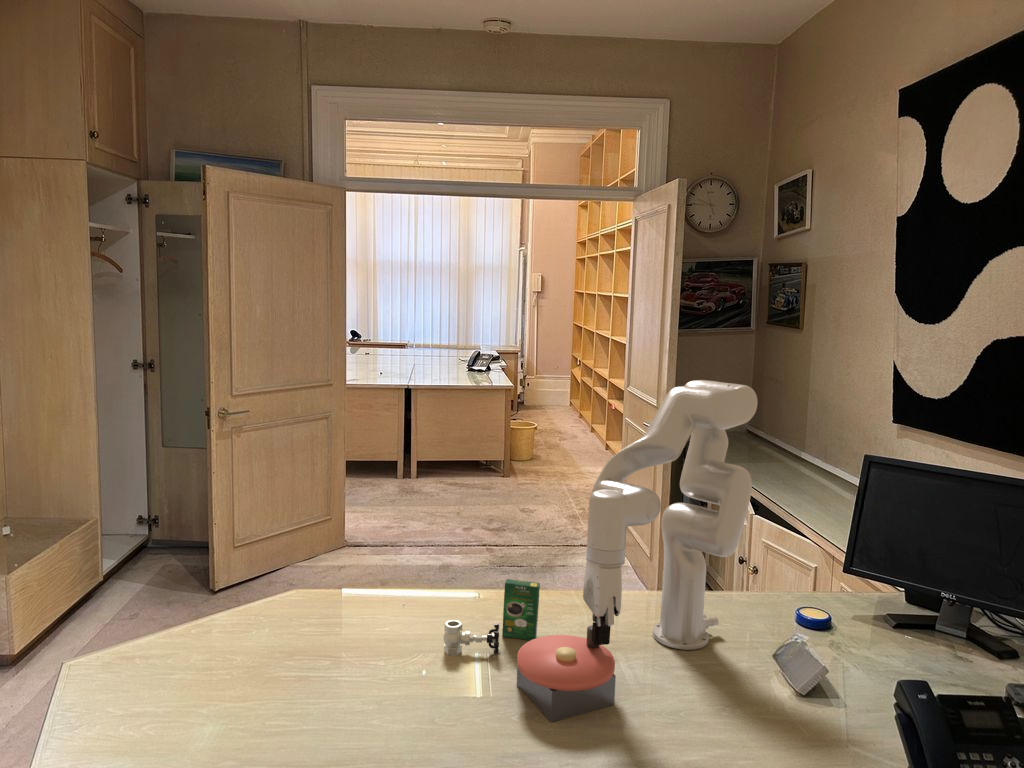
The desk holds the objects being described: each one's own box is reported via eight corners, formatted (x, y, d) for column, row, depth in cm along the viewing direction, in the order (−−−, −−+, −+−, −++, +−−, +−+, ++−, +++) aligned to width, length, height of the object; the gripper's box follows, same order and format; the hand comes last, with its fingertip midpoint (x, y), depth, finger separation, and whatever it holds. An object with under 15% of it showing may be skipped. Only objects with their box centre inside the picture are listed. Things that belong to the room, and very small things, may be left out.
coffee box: (538, 635, 169) (540, 581, 167) (536, 641, 166) (538, 586, 164) (504, 632, 170) (505, 577, 168) (501, 637, 167) (503, 582, 166)
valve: (442, 659, 157) (498, 660, 157) (442, 630, 156) (499, 631, 157) (444, 644, 163) (497, 645, 164) (444, 616, 163) (498, 617, 163)
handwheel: (568, 702, 130) (569, 676, 130) (497, 661, 144) (497, 637, 144) (634, 667, 143) (635, 643, 143) (563, 632, 157) (564, 610, 156)
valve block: (576, 670, 154) (577, 643, 153) (614, 704, 141) (615, 675, 141) (516, 684, 148) (517, 656, 147) (550, 722, 135) (552, 691, 134)
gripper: (576, 541, 150) (571, 627, 152) (599, 568, 136) (594, 662, 138) (611, 540, 152) (606, 625, 154) (637, 567, 137) (631, 660, 139)
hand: (600, 642), depth 146 cm, fingers closed
